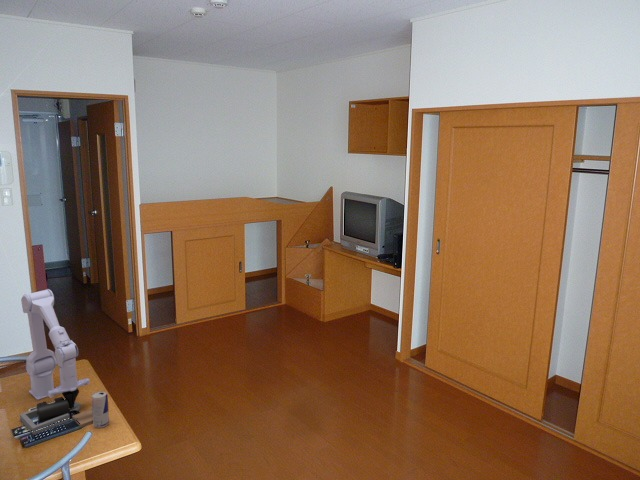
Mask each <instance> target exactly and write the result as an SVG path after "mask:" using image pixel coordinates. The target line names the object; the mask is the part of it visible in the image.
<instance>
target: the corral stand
mask: <svg viewBox="0 0 640 480" xmlns="http://www.w3.org/2000/svg"><path fill="white" fill-rule="evenodd" d="M54 402H55V401H54ZM54 402H51V403H54ZM51 403H49V404H51ZM34 418H38V415H37V408H34V409H31V410H28V411H25V412H23V413H20V414H19V421H20V422H21V423H22V424H23V425H24V426H25V428H27V430H28V431H29V432H30V433H31V434H32V435H36V434H40V433H42V432H45V431H47V430H50V429H52V428H56V427H58V426H60V425H62V424H65V423H68V422H70V421H71V417H70V413H69V414H68V413H67V414H64V415H61V416H59V417H56V418H53V419H51V420H48V421H45V422H43V423H37V424H35V423H34V422H33V420H31V419H34ZM68 418H69V419H68ZM64 419H66V420H64ZM62 420H64V421H62ZM58 421H61V422H59V423H56V422H58ZM53 423H56V424H54V425H51V426H48V425H50V424H53ZM45 426H48V427H46V428H43V429H41V430H38V429H40V428H42V427H45ZM31 430H32V431H33V432H32V431H31ZM36 430H38V431H36ZM34 431H35V432H34Z"/></svg>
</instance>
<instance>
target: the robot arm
mask: <svg viewBox="0 0 640 480" xmlns="http://www.w3.org/2000/svg"><path fill="white" fill-rule="evenodd" d="M20 300H21V306H22V307H21V308H22V312H23V313H24V314H27V318H28V326H29V334H30V339H31V344H32V345H31V346H32V352H30V354H29V355H28V356H27V357H26V363H25V369H26V372H27V374H28V375H29V376H30V388H31V389H29V391H28V392H29V394H30V395H32V397H34V398H35V400H37V401H38V400H41V399H44V398H45V399H46V398H47V397H49V398H50V399H52V398H54V396H57V395H60V394H61V395H62V397H63V398H64V400H65V399H67V400H68V403H69V408H70V410H72V409H74V408H75V403H76V399H77V397H78V395H79V393H80V390H79V389H78V388H81V387H83V386H88V385H90V384H91V383H90V378H83V379H82V378H81V379H78V373H77V372H78V371H77V361H76V359H77V357H78V356H79V348H78V346H77V344H76V343H75V342H74V341H73V339H70V336H69V335H68V333H67V331H66V328H65V327H63V326H60V323H59V320H58V317H57V314H56V312H55V309H54V305H55V295H54V293H53V291H52V290H51V289H50V288H46V289H44V290H39V291H36V292H35V291H34V292H31V293H24V294H23V295H22V297H21V299H20ZM44 322H45V325H46V326H47V327H48V329H49V332H48V337H49V339H50V340H51V343H52V345H53V347H54V351H53V350H51V349H49V348H48V346H47V339H46V334H45V333H46V332H45V325H44ZM57 366H58V367H59V368H58V370H59V379H60V380H59V382H60V385H59V386H56V387H55V386H54V374H53V373H54V372H55V369H56V368H57Z"/></svg>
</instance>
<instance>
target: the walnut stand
mask: <svg viewBox="0 0 640 480" xmlns="http://www.w3.org/2000/svg"><path fill="white" fill-rule="evenodd" d="M77 418H78V419H77ZM71 419H72V420H73V421H74V422H75V423H76V424H77V425H78V426H79V427H80V428H85V427H87V426H89V425H91V424H93V411H92V408H89V409H86V410H85V411H81V412H78V413H77V414H74V415H71ZM75 419H77V421H78V420H79V421H78V422H79V423H80V424H79V423H78V422H77V421H76V420H75Z"/></svg>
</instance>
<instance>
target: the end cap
mask: <svg viewBox="0 0 640 480" xmlns="http://www.w3.org/2000/svg"><path fill="white" fill-rule="evenodd" d="M53 400H54V403H53V402H51V404H50V403H47V401H42V402H39V403H37V404H36V408H37V415H38V416H37V420H38V424H40V423H42V422H45V421H48V420H51V419H53V418H56V417H59V416H61V415H64V414H67V413H68V414H69V415H70V412H71V411H70V410H71V409H70V408H69V403H68V400H67V399H65V397H64V396H60V397H56V398H54V399H53ZM36 408H35V409H36Z"/></svg>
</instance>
